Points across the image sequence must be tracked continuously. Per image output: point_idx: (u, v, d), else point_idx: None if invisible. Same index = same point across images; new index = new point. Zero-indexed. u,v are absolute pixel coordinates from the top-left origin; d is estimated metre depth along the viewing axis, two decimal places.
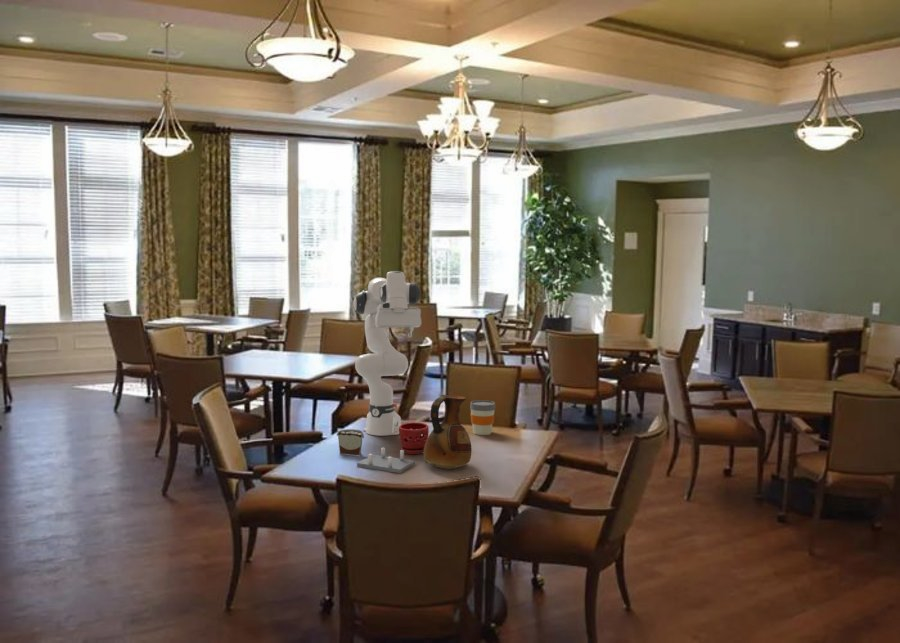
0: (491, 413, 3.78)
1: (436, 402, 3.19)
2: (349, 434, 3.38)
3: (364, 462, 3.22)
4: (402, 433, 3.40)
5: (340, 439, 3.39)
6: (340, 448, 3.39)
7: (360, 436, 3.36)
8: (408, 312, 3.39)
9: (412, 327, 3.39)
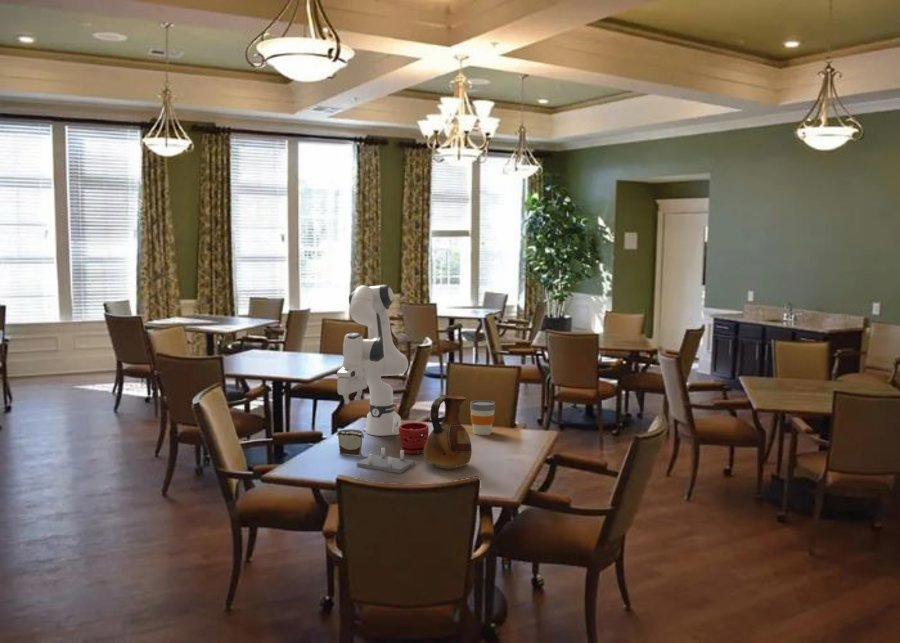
0: (491, 413, 3.78)
1: (436, 402, 3.19)
2: (349, 434, 3.38)
3: (364, 462, 3.22)
4: (402, 433, 3.40)
5: (340, 439, 3.39)
6: (340, 448, 3.39)
7: (360, 436, 3.36)
8: (361, 376, 3.41)
9: (361, 390, 3.44)
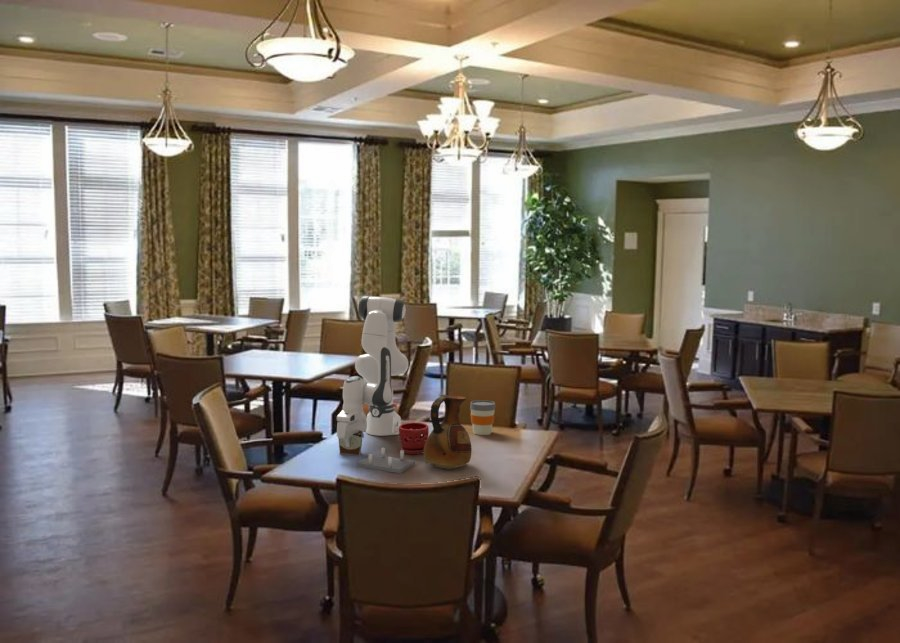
0: (491, 413, 3.78)
1: (436, 402, 3.19)
2: None
3: (364, 462, 3.22)
4: (402, 433, 3.40)
5: (340, 439, 3.39)
6: (340, 448, 3.39)
7: (360, 436, 3.36)
8: (361, 419, 3.43)
9: None
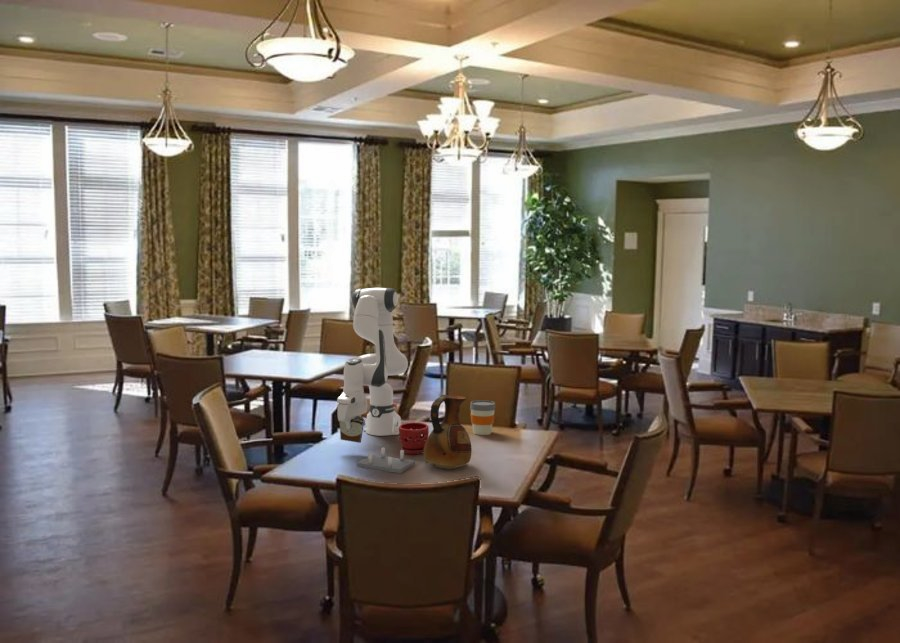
0: (491, 413, 3.78)
1: (436, 402, 3.19)
2: (350, 421, 3.38)
3: (364, 462, 3.22)
4: (402, 433, 3.40)
5: (342, 425, 3.39)
6: (341, 434, 3.40)
7: (361, 423, 3.36)
8: (361, 401, 3.43)
9: (360, 415, 3.44)
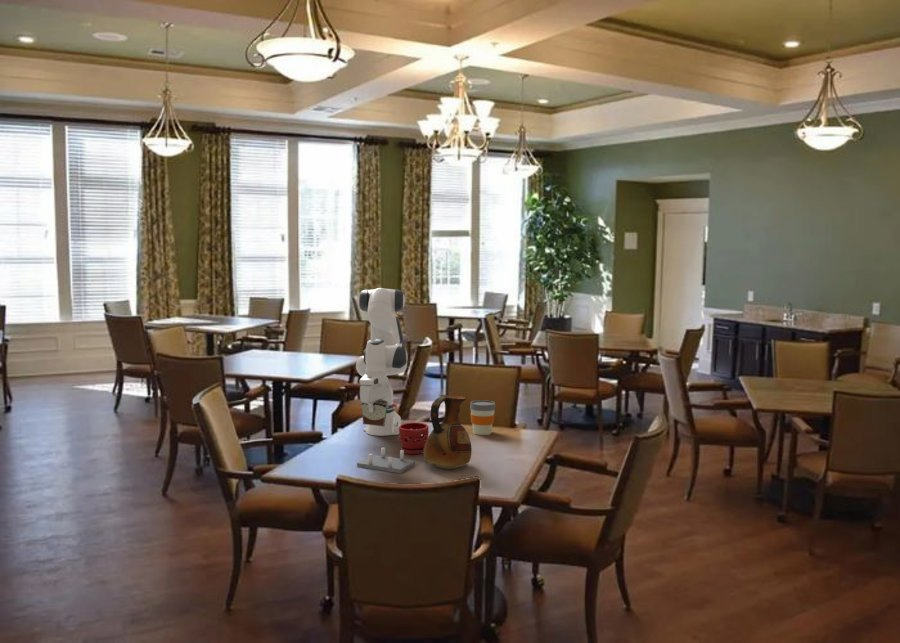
0: (491, 413, 3.78)
1: (436, 402, 3.19)
2: (373, 404, 3.24)
3: (364, 462, 3.22)
4: (402, 433, 3.40)
5: (364, 409, 3.25)
6: (363, 418, 3.25)
7: (385, 406, 3.22)
8: (384, 384, 3.29)
9: (383, 399, 3.30)
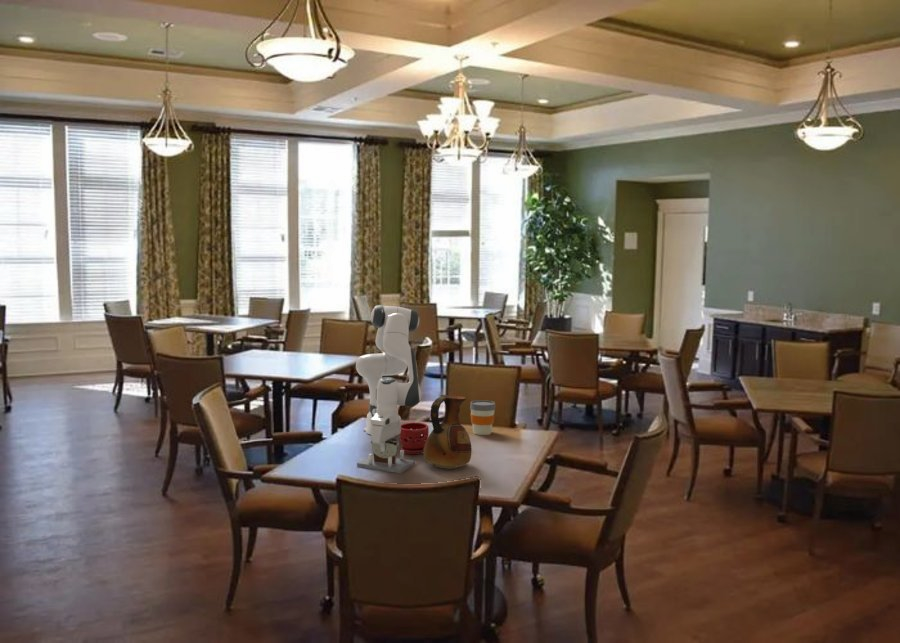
0: (491, 413, 3.78)
1: (436, 402, 3.19)
2: None
3: (364, 462, 3.22)
4: (402, 433, 3.40)
5: (375, 447, 3.22)
6: (374, 456, 3.22)
7: (395, 444, 3.19)
8: (395, 422, 3.25)
9: None
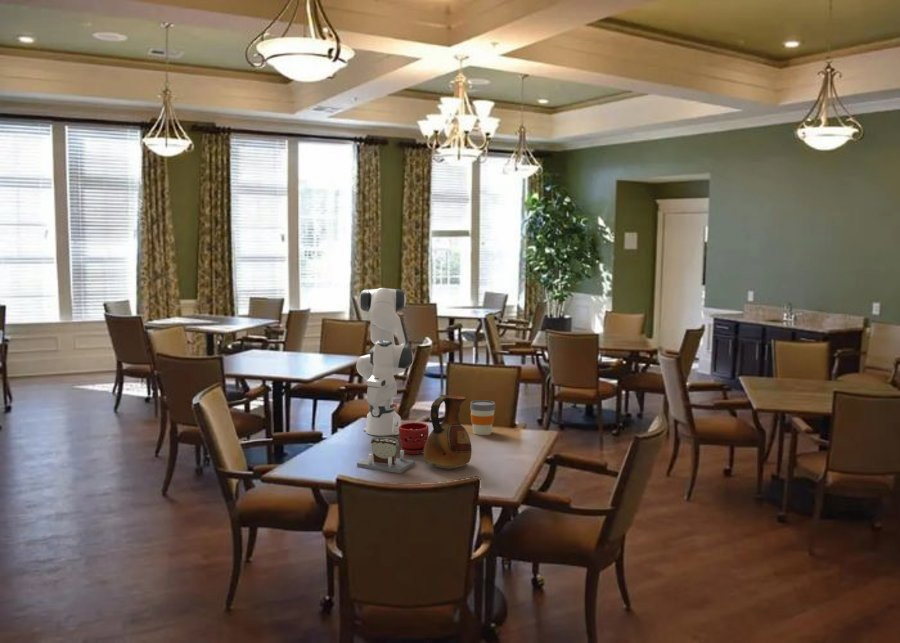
0: (491, 413, 3.78)
1: (436, 402, 3.19)
2: (383, 442, 3.20)
3: (364, 462, 3.22)
4: (402, 433, 3.40)
5: (374, 447, 3.21)
6: (374, 456, 3.22)
7: (395, 444, 3.18)
8: (391, 384, 3.30)
9: (391, 399, 3.32)
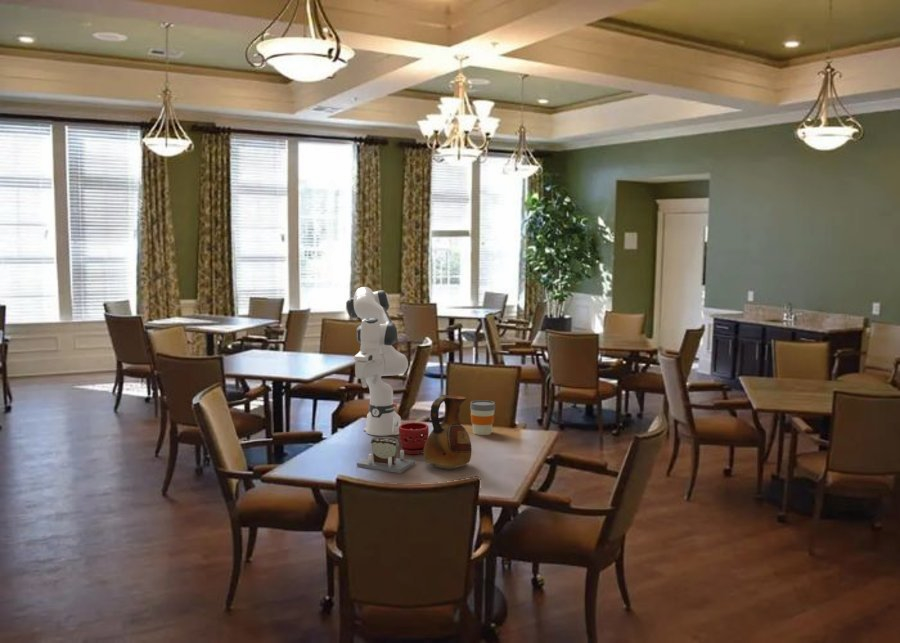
0: (491, 413, 3.78)
1: (436, 402, 3.19)
2: (383, 442, 3.20)
3: (364, 462, 3.22)
4: (402, 433, 3.40)
5: (374, 447, 3.21)
6: (374, 456, 3.22)
7: (395, 444, 3.18)
8: (378, 360, 3.46)
9: (378, 374, 3.49)
